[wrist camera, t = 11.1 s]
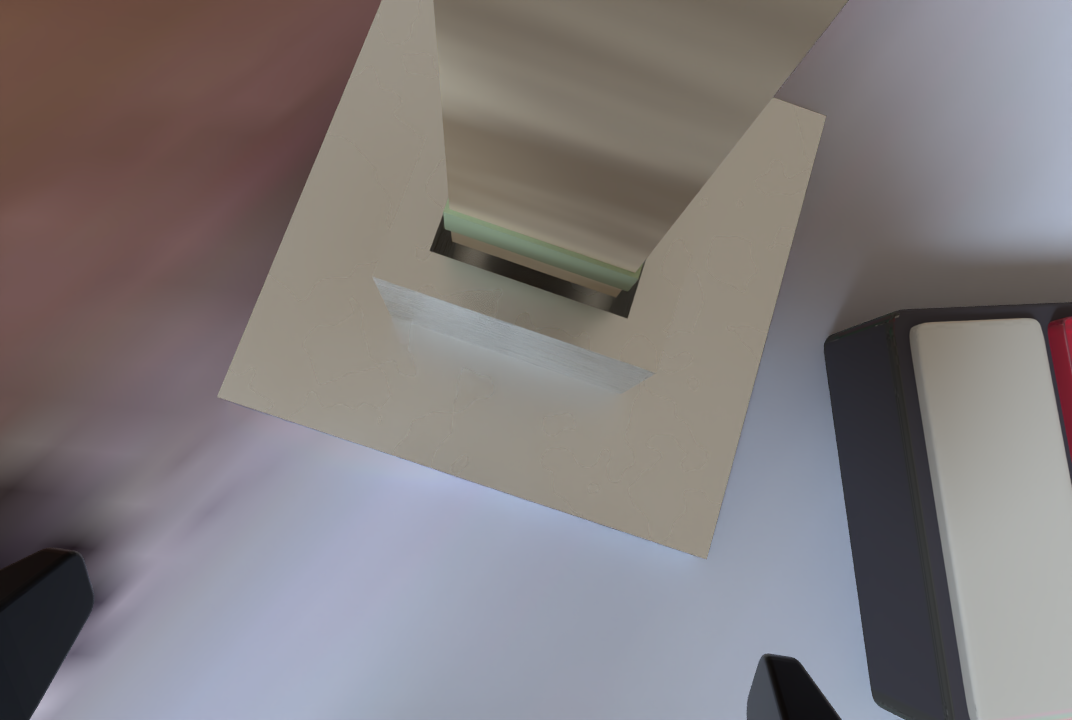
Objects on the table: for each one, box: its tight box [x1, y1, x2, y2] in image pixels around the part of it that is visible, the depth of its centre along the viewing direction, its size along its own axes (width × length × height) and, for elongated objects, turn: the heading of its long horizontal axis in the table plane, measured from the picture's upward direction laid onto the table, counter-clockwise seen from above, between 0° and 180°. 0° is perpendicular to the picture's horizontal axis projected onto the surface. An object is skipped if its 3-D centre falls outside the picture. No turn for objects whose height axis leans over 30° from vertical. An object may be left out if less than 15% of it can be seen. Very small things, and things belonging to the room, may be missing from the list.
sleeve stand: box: [217, 0, 826, 559], centre depth 19 cm, size 14×14×6 cm
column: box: [433, 0, 849, 297], centre depth 11 cm, size 4×4×13 cm
